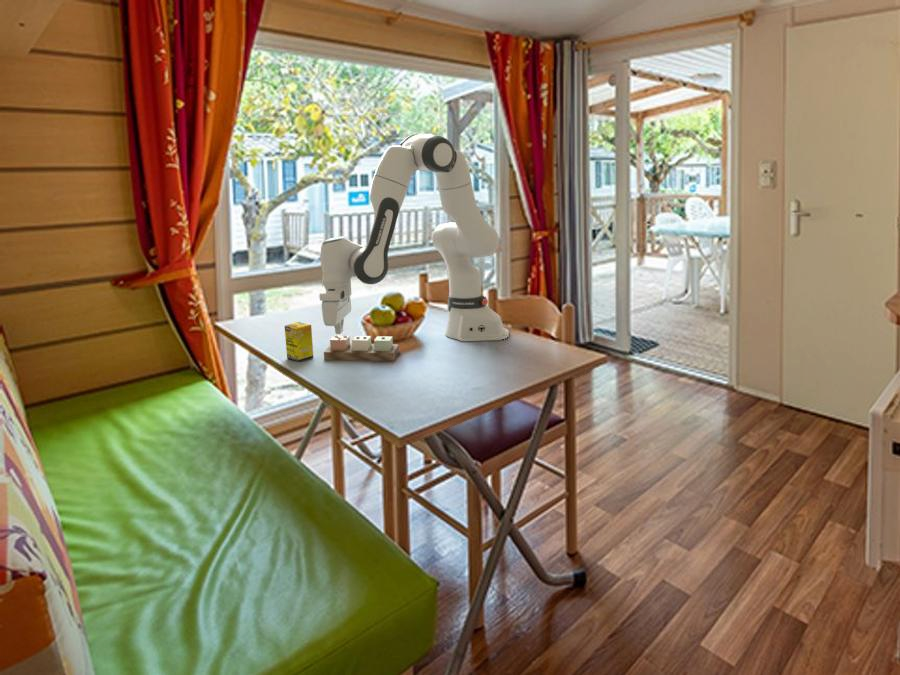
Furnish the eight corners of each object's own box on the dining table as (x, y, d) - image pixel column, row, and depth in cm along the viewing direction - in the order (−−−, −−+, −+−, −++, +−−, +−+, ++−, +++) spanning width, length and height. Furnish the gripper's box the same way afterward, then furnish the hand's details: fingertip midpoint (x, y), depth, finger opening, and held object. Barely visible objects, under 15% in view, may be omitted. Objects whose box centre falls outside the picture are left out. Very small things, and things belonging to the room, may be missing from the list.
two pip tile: (371, 348, 201) (370, 335, 200) (368, 352, 196) (367, 339, 195) (356, 347, 202) (355, 335, 201) (352, 352, 197) (351, 339, 196)
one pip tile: (393, 348, 201) (392, 335, 199) (390, 353, 196) (389, 339, 195) (377, 348, 201) (377, 335, 200) (374, 352, 196) (373, 339, 195)
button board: (399, 351, 203) (398, 344, 203) (393, 361, 194) (393, 353, 193) (332, 350, 205) (332, 343, 205) (324, 359, 196) (323, 352, 195)
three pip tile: (350, 347, 202) (349, 334, 201) (346, 352, 197) (345, 339, 196) (335, 347, 202) (334, 334, 201) (330, 352, 198) (329, 338, 196)
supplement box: (286, 359, 197) (283, 325, 194) (301, 354, 202) (299, 321, 199) (298, 362, 193) (296, 328, 191) (313, 357, 198) (311, 324, 195)
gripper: (335, 283, 205) (338, 324, 208) (317, 296, 185) (320, 341, 189) (354, 283, 204) (356, 325, 208) (338, 296, 184) (340, 341, 188)
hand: (339, 332), depth 198 cm, fingers closed
